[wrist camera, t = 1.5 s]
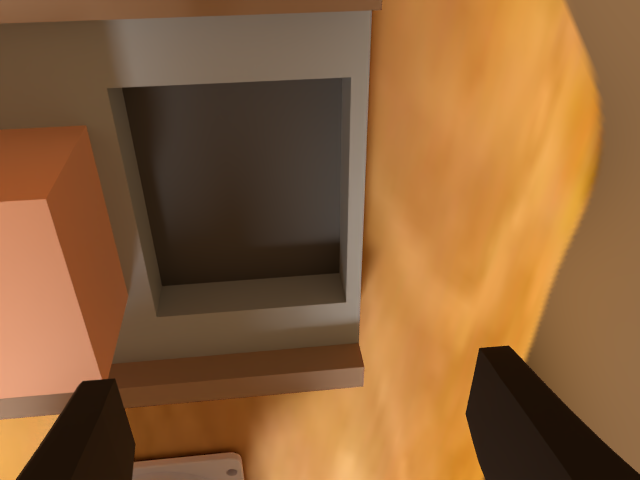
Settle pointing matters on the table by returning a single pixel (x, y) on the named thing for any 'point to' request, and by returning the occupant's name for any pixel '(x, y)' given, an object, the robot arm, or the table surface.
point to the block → (55, 264)
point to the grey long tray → (212, 181)
